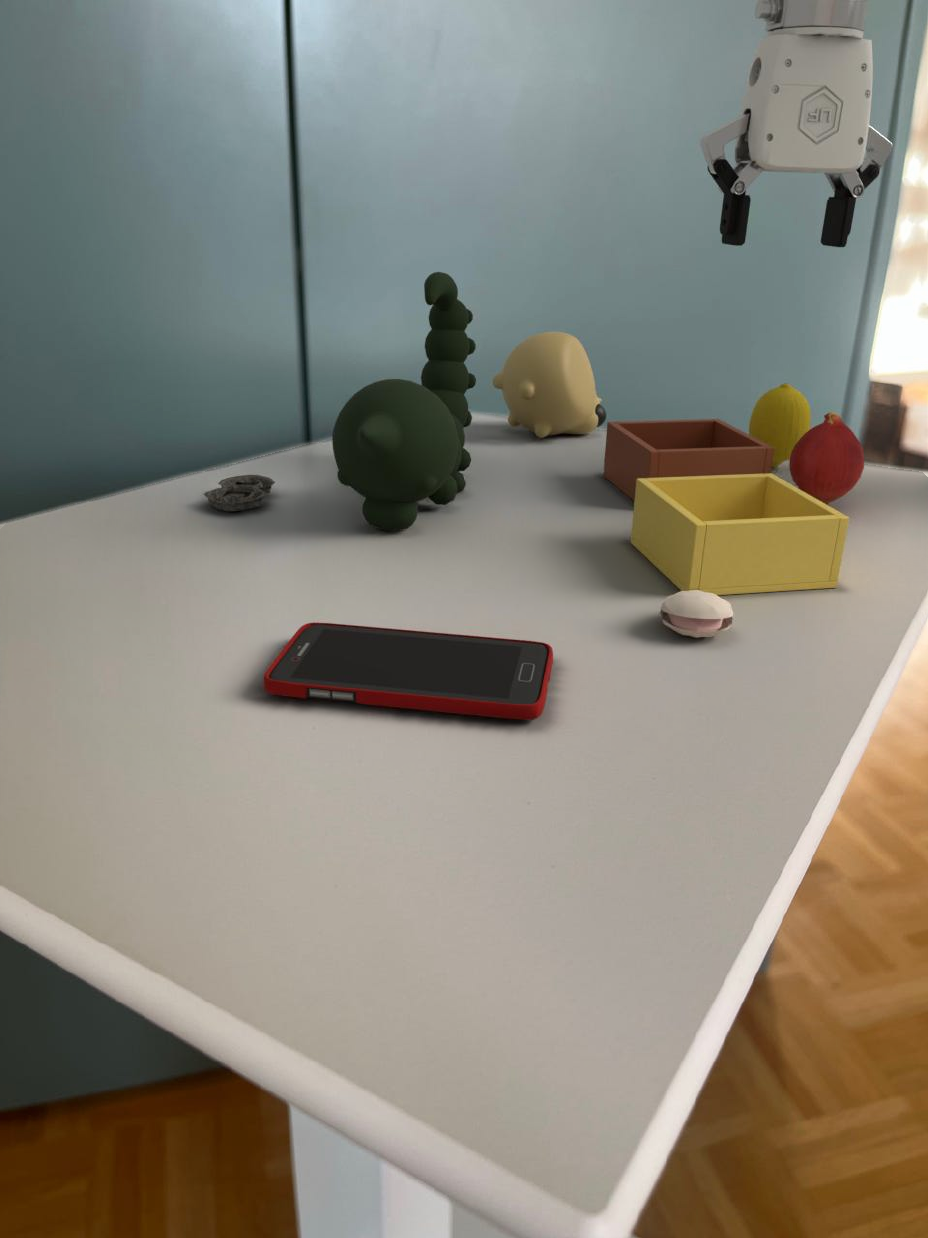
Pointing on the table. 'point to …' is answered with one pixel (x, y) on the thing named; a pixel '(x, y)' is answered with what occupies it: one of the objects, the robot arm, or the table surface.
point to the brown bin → (680, 451)
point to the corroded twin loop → (240, 492)
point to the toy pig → (550, 386)
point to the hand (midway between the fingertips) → (783, 245)
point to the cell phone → (414, 670)
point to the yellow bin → (737, 533)
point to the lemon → (780, 420)
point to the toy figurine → (412, 423)
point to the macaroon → (696, 613)
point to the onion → (827, 460)
